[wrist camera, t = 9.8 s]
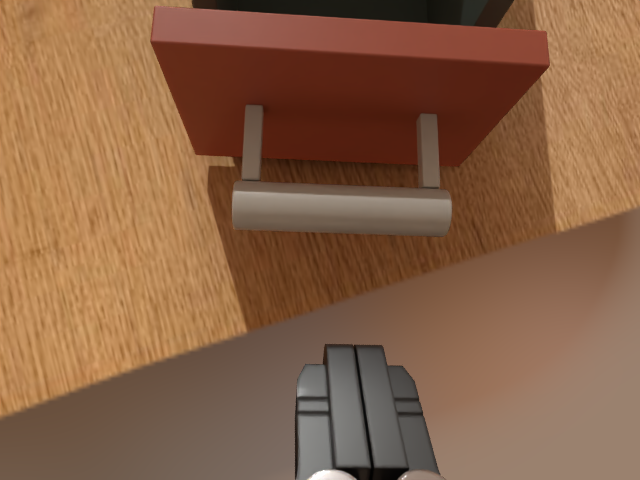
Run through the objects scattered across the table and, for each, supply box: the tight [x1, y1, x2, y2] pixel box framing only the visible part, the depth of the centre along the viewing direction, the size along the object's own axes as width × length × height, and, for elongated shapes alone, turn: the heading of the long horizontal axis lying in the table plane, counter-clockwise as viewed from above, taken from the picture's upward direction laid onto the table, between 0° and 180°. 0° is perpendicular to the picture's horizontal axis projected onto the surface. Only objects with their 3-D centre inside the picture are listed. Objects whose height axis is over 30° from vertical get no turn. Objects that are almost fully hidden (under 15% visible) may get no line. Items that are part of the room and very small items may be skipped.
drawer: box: [150, 0, 550, 237], centre depth 19 cm, size 18×11×8 cm, turn 179°
